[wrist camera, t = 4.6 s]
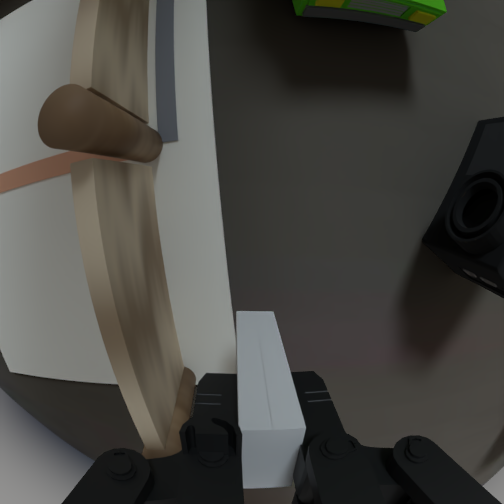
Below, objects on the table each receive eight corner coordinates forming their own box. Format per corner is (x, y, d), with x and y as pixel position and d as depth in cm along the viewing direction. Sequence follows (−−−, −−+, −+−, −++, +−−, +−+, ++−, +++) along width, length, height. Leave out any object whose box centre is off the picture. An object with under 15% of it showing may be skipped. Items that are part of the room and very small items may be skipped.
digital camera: (468, 107, 15) (541, 92, 8) (507, 157, 15) (575, 160, 9) (408, 230, 16) (487, 258, 9) (454, 273, 17) (524, 310, 10)
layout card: (-17, 36, 11) (-22, 34, 10) (204, -49, 11) (204, -55, 11) (13, 368, 17) (9, 372, 16) (240, 376, 18) (241, 382, 17)
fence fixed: (135, -32, 11) (97, -107, 3) (162, -38, 11) (134, -119, 3) (130, 165, 14) (37, 155, 6) (164, 159, 14) (91, 140, 6)
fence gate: (128, 170, 14) (46, 166, 7) (162, 165, 14) (98, 153, 7) (170, 389, 17) (146, 480, 10) (198, 388, 17) (185, 483, 10)
